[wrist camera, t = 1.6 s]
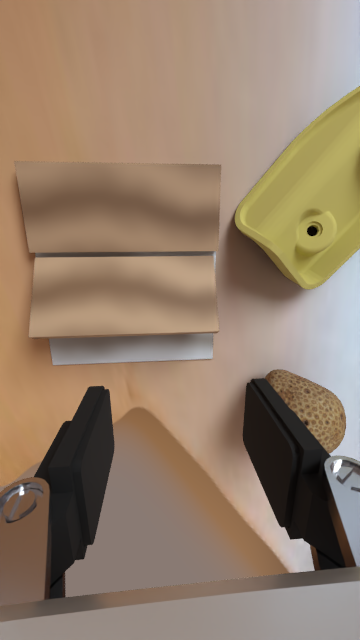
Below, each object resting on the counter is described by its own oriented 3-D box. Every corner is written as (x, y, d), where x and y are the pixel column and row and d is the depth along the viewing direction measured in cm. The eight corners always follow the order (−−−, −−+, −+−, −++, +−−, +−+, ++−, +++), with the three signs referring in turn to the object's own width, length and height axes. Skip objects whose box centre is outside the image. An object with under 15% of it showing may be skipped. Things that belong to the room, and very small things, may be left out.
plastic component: (309, 297, 28) (267, 243, 22) (267, 269, 33) (225, 220, 27) (475, 135, 23) (483, 8, 17) (395, 135, 29) (378, 38, 22)
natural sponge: (279, 429, 35) (323, 497, 26) (227, 401, 33) (255, 463, 24) (321, 378, 33) (386, 431, 24) (269, 346, 32) (317, 389, 22)
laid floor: (212, 358, 31) (214, 363, 30) (53, 364, 30) (48, 369, 29) (217, 166, 26) (221, 162, 24) (21, 163, 24) (13, 158, 23)
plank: (216, 333, 26) (219, 331, 25) (34, 339, 25) (28, 337, 24) (211, 260, 28) (213, 255, 26) (40, 262, 26) (34, 257, 25)
